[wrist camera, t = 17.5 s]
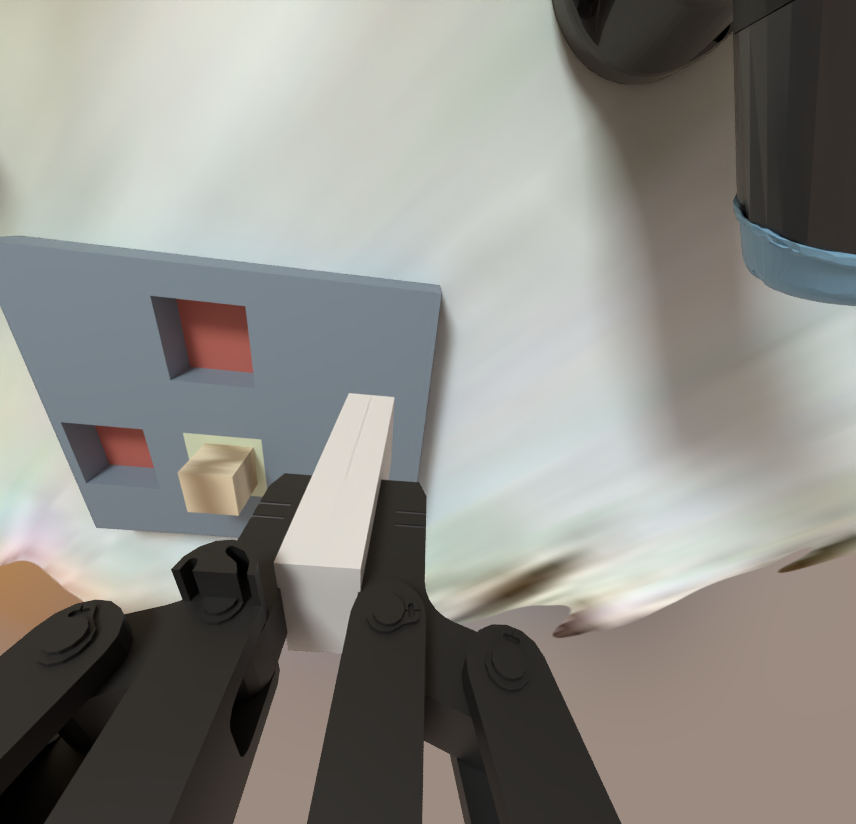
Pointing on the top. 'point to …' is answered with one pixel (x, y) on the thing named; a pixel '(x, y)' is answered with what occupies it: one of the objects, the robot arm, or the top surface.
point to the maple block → (218, 479)
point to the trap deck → (207, 367)
